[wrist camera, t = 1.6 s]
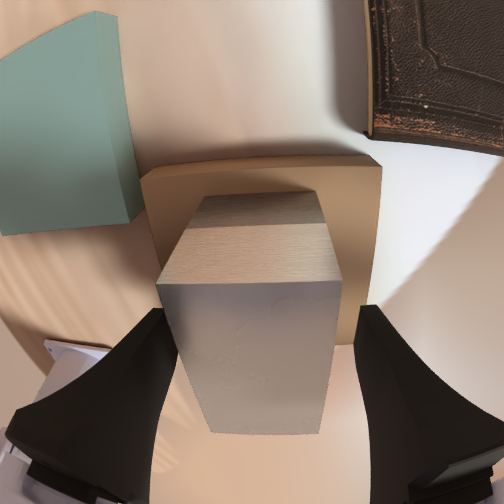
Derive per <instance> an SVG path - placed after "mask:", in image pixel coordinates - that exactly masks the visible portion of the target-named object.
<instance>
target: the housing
mask: <svg viewBox="0 0 504 504" xmlns="http://www.w3.org/2000/svg"><path fill="white" fill-rule="evenodd" d="M342 281H343V280H342V276H341V272H340V269H339V265H338V262H337V258H336V255H335V251H334V248H333V244H332V241H331V238H330V234H329V231H328V228H327V224H326V221H325V218H324V215H323V212H322V208H321V205H320V202H319V199H318V196H317V193H316V191H288V192H263V193H243V194H227V195H211V196H204V198H203V200H202V201H201V203H200V205H199V206H198V208H197V210H196V212H195V213H194V215H193V217H192V218H191V220H190V222H189V224H188V226H187V227H186V229H185V231H184V233H183V234H182V236H181V238H180V240H179V242H178V243H177V245H176V247H175V249H174V251H173V252H172V254H171V256H170V258H169V260H168V262H167V263H166V265H165V267H164V269H163V271H162V273H161V275H160V277H159V279H158V280H157V282H156V287H157V290H158V293H159V297H160V300H161V303H162V306H163V309H164V312H165V315H166V318H167V321H168V324H169V327H170V330H171V333H172V335H173V338H174V341H175V344H176V347H177V349H178V352H179V355H180V357H181V360H182V363H183V365H184V368H185V371H186V373H187V376H188V378H189V381H190V383H191V386H192V388H193V391H194V393H195V396H196V398H197V401H198V403H199V405H200V407H201V410H202V412H203V414H204V417H205V419H206V422H207V424H208V426H209V428H210V431H211V432H213V433H228V434H249V435H300V434H318V433H319V429H320V424H321V419H322V414H323V409H324V404H325V399H326V393H327V388H328V382H329V377H330V371H331V365H332V358H333V352H334V346H335V339H336V332H337V324H338V317H339V308H340V300H341V291H342Z"/></svg>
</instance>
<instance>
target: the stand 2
mask: <svg viewBox="0 0 504 504" xmlns="http://www.w3.org/2000/svg"><path fill="white" fill-rule="evenodd" d="M381 181H382V166H381V165H380V164H379V163H377V162H376V161H375V160H374V159H373V158H372V157H371V156H370V155H292V156H268V157H250V158H235V159H223V160H211V161H200V162H191V163H181V164H173V165H165V166H157V167H155V168H153V169H152V170H151V171H150V172H148V173H147V174H146V175H145V176H144V177H142V178H141V179H140V184H141V189H142V193H143V198H144V202H145V207H146V211H147V215H148V219H149V224H150V228H151V232H152V236H153V240H154V244H155V248H156V251H157V255H158V259H159V263H160V266H161V270H162V271H163V269H164V267H165V265H166V263H167V262H168V260H169V258H170V256H171V254H172V252H173V251H174V249H175V247H176V245H177V243H178V242H179V240H180V238H181V236H182V234H183V233H184V231H185V229H186V227H187V226H188V224H189V222H190V220H191V218H192V217H193V215H194V213H195V212H196V210H197V208H198V206H199V205H200V203H201V201H202V200H203V198H204V196H211V195H227V194H243V193H263V192H288V191H316V193H317V196H318V199H319V202H320V205H321V208H322V212H323V215H324V218H325V221H326V224H327V228H328V231H329V234H330V238H331V241H332V244H333V248H334V251H335V255H336V258H337V262H338V265H339V269H340V272H341V276H342V280H343V281H342V291H341V300H340V308H339V317H338V324H337V332H336V339H335V345H348V344H353V342H354V337H355V332H356V327H357V322H358V316H359V311H360V305H366V303H367V297H368V291H369V285H370V279H371V272H372V266H373V259H374V251H375V244H376V235H377V227H378V217H379V207H380V195H381Z"/></svg>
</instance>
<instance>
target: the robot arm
mask: <svg viewBox="0 0 504 504" xmlns="http://www.w3.org/2000/svg"><path fill="white" fill-rule="evenodd" d="M43 343H44V346H45V347H46V349H47V350H48V352H49V353H50V355H51V356H52V358H53V359H54V361H55V363H54V365H53V367H52V369H51V370H50V372H49V374H48V376H47V377H46V379H45V381H44V383H43V384H42V386H41V388H40V390H39V392H38V394H37V396H36V397H35V399H34V401H33V403H32V404H30V405H27V406H25V407H23V408H20V409H17V410H16V412H15V414H14V416H13V418H12V420H11V421H10V423H9V425H8V427H3V428H2V429H1V430H0V504H118V503H121V504H149V493H150V492H149V491H150V475H151V464H152V456H153V449H154V442H155V436H156V431H157V425H158V421H159V417H160V413H161V410H162V407H163V404H164V401H165V398H166V395H167V392H168V389H169V385H170V382H171V379H172V376H173V373H174V370H175V367H176V362H177V357H178V349H177V347H176V344H175V341H174V338H173V335H172V333H171V330H170V327H169V324H168V321H167V318H166V315H165V312H164V309H163V308H153V309H152V310H151V311H150V312H149V313H148V314H147V315H146V316H145V317H144V318H143V319H142V320H141V321H140V322H139V323H138V324H137V325H136V326H135V327H134V328H133V329H132V330H131V331H130V332H129V333H128V334H127V335H126V336H125V337H124V338H123V339H122V340H121V341H120V342H119V343H118V344H117V345H116V346H115V347H114V348H113V349H112V350H111V349H107V348H99V347H92V346H85V345H78V344H72V343H65V342H59V341H54V340H48V339H46V340H45V341H44V342H43ZM353 345H354V355H355V363H356V369H357V373H358V378H359V383H360V387H361V391H362V396H363V400H364V405H365V410H366V414H367V420H368V428H369V440H370V460H371V491H370V504H504V477H502V478H500V479H498V480H496V481H495V482H493V483H491V481H490V477H491V476H493V469H492V466H493V465H494V464H496V463H497V462H498V461H499V460H501V459H502V458H503V457H504V422H503V421H501V420H500V419H498V418H496V417H494V416H492V415H490V414H489V413H486V412H485V411H483V410H482V409H480V408H479V407H477V406H476V405H474V404H472V403H471V402H470V401H468V400H467V399H465V398H464V397H463V396H461V395H460V394H459V393H458V392H456V391H455V390H454V389H452V388H451V387H450V386H449V385H447V384H446V383H445V382H444V381H443V380H442V379H440V378H439V377H438V376H437V375H436V374H435V373H434V372H433V371H432V370H431V369H430V368H429V367H428V366H427V365H426V364H425V363H424V362H423V361H422V360H421V359H420V357H418V355H417V354H416V353H415V352H414V351H413V350H412V349H411V347H410V346H409V345H408V344H407V343H406V342H405V340H404V339H403V338H402V337H401V336H400V334H399V333H398V332H397V331H396V329H395V328H394V327H393V326H392V324H391V323H390V321H389V320H388V319H387V318H386V316H385V315H384V314H383V312H382V311H381V310H380V308H379V307H378V306H377V305H360V311H359V316H358V322H357V327H356V332H355V337H354V342H353Z"/></svg>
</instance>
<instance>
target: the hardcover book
mask: <svg viewBox="0 0 504 504" xmlns="http://www.w3.org/2000/svg"><path fill="white" fill-rule="evenodd" d="M363 3H364V14H365V26H366V42H367V63H368V131H363V134H364V135H365V136H366V137H367V138H368V139H370V140H375V141H390V142H402V143H413V144H422V145H431V146H439V147H447V148H454V149H461V150H468V151H474V152H480V153H486V154H491V155H497V156H502V157H504V0H363Z"/></svg>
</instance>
